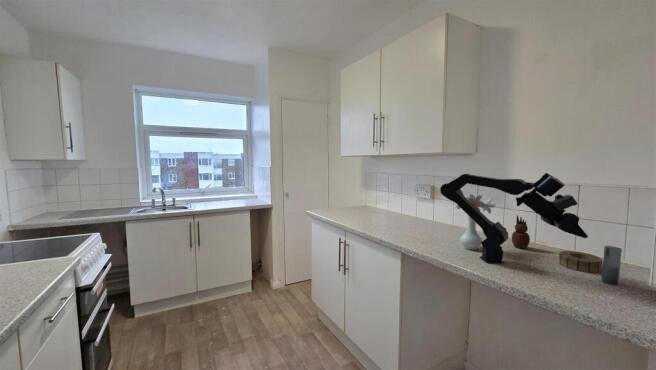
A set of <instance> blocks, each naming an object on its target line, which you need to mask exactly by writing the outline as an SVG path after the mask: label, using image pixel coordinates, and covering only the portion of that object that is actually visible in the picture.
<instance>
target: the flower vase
mask: <svg viewBox="0 0 656 370" xmlns="http://www.w3.org/2000/svg"><path fill="white" fill-rule="evenodd" d="M466 198H467V199H468V200H469V201H470V202H471V203H472V204H473V205H474V206H475V207H476V208H477V209H478V210H479V211H480V212H487V213H488V214H492V209H491V208H495V207H496V203H493V202H492V200H493V197H489V198H488V199H487V201H486V200H481V199H482V198H483V196H482V195H477V196H476V197H475V195H474V194H472V193H470V194H469V197H468V196H467V197H466ZM480 208H481V209H480ZM453 209H457V210H460V209H461V208H460V207H459V206H458V205H457V204H456V203H455V206H454V208H453ZM467 216H468V220H467V228H466V231H465V232H464V233H463V234H462V235H460V238H459V241H460V243H461V245H462V246H463V248H464V249H467V250H472V251H474V250H479V247H481V246H482V243H481V242H482V241H483V239H482V236H480V234H479V233H478V232H477V227H476V224H477V223H476V222H475V221H474V220H473V219H472V218H471V217H470V216H469V215H468V214H467Z"/></svg>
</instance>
